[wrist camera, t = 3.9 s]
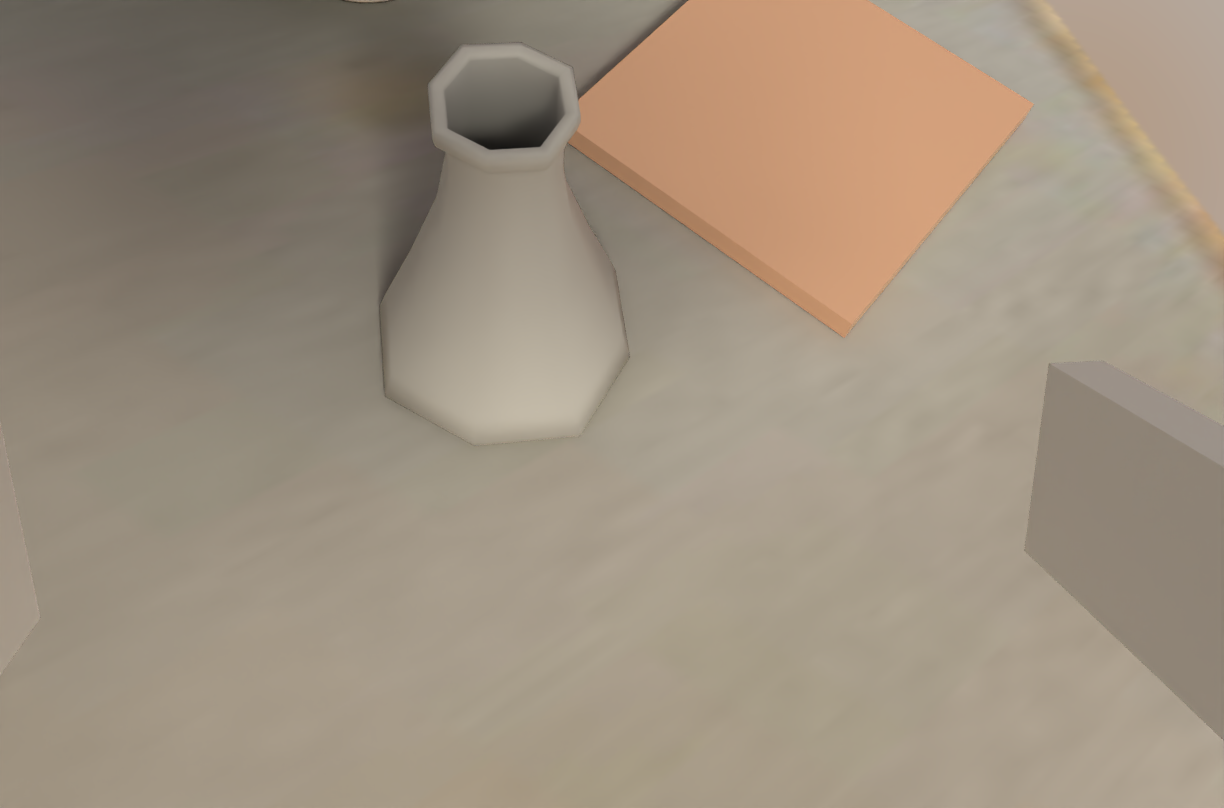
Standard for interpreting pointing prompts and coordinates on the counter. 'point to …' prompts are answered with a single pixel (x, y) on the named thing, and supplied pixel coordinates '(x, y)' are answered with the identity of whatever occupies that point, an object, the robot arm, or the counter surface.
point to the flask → (503, 263)
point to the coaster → (799, 139)
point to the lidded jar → (367, 1)
